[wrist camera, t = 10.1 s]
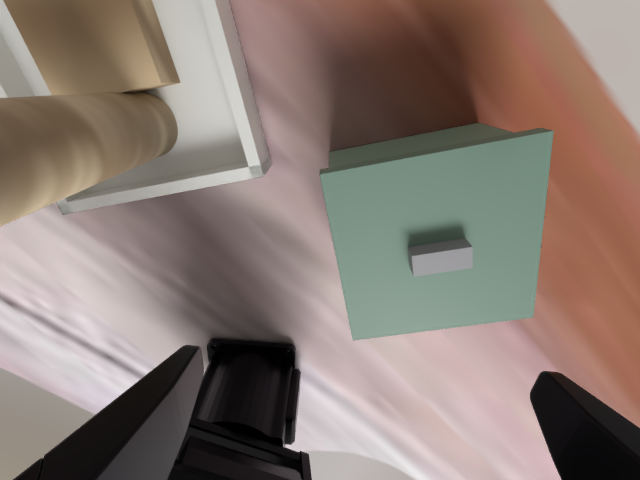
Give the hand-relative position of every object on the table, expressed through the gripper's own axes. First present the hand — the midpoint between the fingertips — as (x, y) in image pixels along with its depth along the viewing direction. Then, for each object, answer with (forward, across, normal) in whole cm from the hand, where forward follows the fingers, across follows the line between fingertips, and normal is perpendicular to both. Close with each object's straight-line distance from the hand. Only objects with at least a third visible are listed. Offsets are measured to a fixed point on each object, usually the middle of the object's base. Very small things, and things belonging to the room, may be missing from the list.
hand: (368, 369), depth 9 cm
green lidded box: (+12, -4, 0) cm, 13 cm away
